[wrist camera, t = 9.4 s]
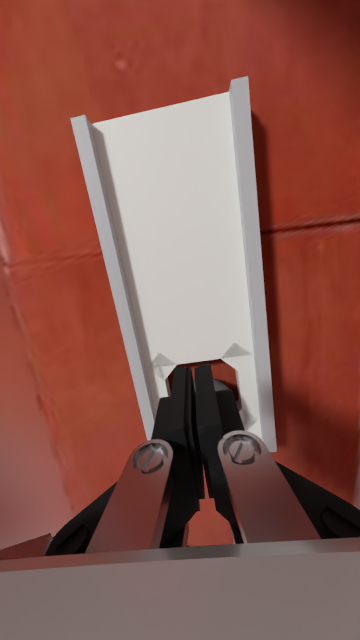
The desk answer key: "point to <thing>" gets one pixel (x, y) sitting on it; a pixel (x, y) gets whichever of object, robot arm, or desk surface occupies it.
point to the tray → (184, 244)
